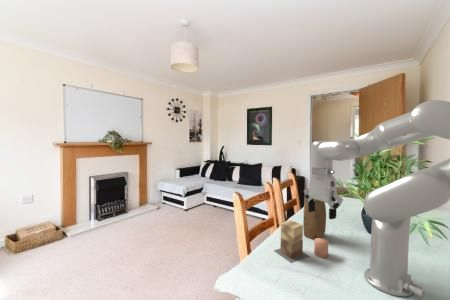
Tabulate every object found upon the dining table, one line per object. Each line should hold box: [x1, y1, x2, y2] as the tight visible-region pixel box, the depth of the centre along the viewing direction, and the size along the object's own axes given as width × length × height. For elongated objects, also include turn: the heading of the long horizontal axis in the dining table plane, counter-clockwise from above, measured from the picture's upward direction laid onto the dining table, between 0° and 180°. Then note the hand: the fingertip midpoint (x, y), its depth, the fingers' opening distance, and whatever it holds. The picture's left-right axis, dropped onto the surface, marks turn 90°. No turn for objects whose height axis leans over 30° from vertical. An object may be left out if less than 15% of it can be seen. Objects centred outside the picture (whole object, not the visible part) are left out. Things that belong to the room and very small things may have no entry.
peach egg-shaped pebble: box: [313, 237, 329, 259], centre depth 85 cm, size 5×5×6 cm
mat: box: [273, 247, 311, 264], centre depth 86 cm, size 10×10×1 cm
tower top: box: [280, 219, 304, 244], centre depth 85 cm, size 6×6×6 cm
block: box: [302, 197, 327, 241], centre depth 102 cm, size 11×8×20 cm
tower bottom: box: [279, 237, 304, 259], centre depth 86 cm, size 6×6×6 cm
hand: (321, 214), depth 85 cm, fingers open, 9 cm apart
